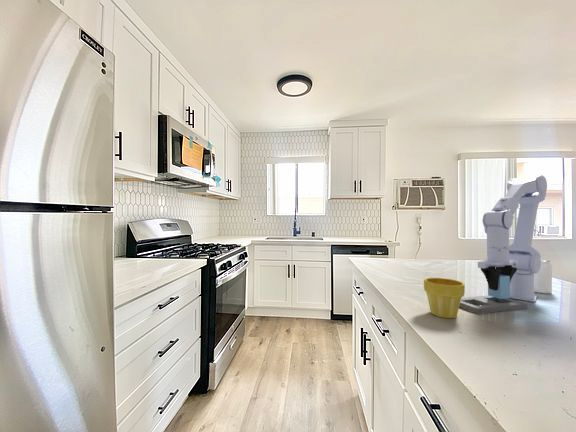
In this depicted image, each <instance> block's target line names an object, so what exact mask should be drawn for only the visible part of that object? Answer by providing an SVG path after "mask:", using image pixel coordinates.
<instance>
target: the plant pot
mask: <svg viewBox="0 0 576 432" xmlns="http://www.w3.org/2000/svg"><path fill="white" fill-rule="evenodd" d="M423 289H424V291H425V292H426V297H427V301H428V305H429V309H430V310H429V311H430V313H431V314H432V315H434V316H435V317H439V318H445V319H455V318H457V317H458V313H459V309H460V307H459V305H460V301H461V298H464V296H465V291H466V290H465V289H466V288H465V283H464V282H462V281H460V280H457V279H451V278H444V277H426V278H424V279H423Z"/></svg>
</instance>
